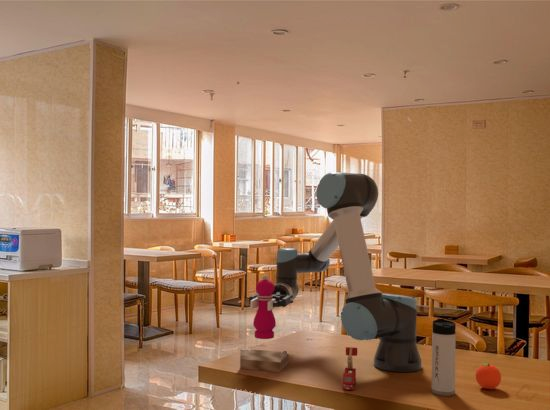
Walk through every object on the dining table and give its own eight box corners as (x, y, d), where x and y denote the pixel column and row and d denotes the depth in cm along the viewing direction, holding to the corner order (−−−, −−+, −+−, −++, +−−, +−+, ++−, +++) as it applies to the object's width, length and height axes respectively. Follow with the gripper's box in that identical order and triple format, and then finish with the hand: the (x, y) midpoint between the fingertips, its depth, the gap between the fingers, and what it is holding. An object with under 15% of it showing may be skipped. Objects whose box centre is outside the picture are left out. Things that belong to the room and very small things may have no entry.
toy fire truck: (342, 390, 164) (342, 356, 164) (346, 377, 178) (346, 345, 178) (354, 391, 164) (354, 356, 164) (357, 377, 177) (357, 345, 177)
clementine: (467, 387, 169) (467, 362, 169) (478, 382, 174) (479, 358, 174) (494, 394, 163) (494, 368, 163) (505, 389, 168) (505, 364, 168)
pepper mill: (279, 336, 191) (280, 274, 191) (267, 340, 185) (268, 277, 184) (261, 333, 195) (262, 273, 194) (248, 337, 188) (249, 275, 188)
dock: (288, 363, 193) (288, 344, 193) (279, 372, 182) (280, 352, 182) (250, 359, 196) (251, 341, 196) (240, 368, 185) (240, 349, 185)
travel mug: (450, 388, 167) (451, 318, 167) (458, 396, 161) (459, 322, 161) (428, 388, 167) (429, 318, 167) (435, 396, 160) (436, 322, 160)
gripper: (304, 307, 204) (287, 319, 182) (254, 303, 209) (232, 315, 187) (304, 285, 204) (288, 295, 182) (255, 282, 209) (233, 291, 187)
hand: (260, 305), depth 184 cm, fingers closed on pepper mill, 5 cm apart
